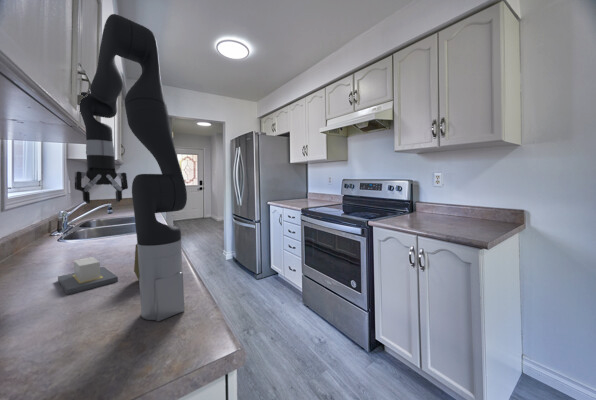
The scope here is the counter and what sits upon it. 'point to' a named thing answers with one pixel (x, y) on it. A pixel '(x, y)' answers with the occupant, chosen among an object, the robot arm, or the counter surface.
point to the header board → (74, 285)
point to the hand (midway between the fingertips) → (103, 202)
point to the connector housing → (87, 269)
